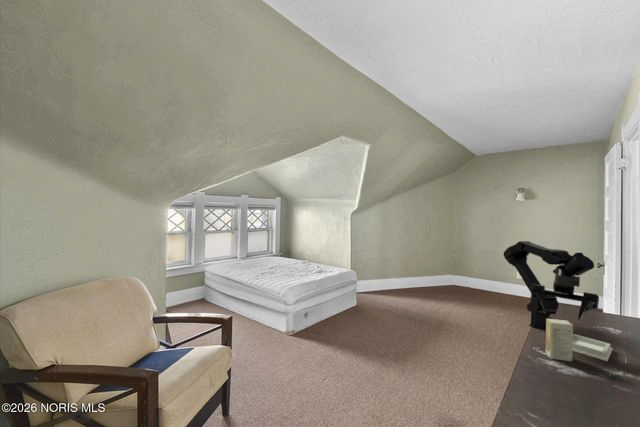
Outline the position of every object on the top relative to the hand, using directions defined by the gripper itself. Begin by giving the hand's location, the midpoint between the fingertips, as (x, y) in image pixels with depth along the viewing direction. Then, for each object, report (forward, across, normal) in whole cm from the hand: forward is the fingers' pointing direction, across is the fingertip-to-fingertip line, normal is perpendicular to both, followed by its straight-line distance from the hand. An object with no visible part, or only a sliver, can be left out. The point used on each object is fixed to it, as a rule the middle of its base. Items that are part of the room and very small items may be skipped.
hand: (561, 316), depth 104 cm
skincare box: (+13, 0, +4) cm, 14 cm away
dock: (+2, +7, +15) cm, 17 cm away
